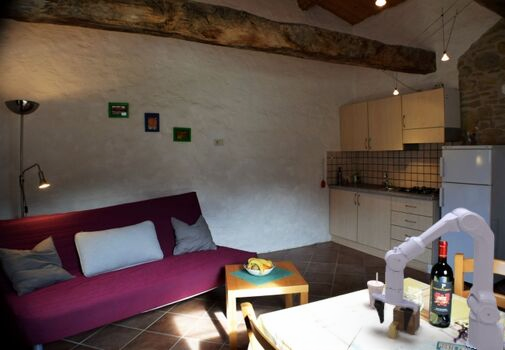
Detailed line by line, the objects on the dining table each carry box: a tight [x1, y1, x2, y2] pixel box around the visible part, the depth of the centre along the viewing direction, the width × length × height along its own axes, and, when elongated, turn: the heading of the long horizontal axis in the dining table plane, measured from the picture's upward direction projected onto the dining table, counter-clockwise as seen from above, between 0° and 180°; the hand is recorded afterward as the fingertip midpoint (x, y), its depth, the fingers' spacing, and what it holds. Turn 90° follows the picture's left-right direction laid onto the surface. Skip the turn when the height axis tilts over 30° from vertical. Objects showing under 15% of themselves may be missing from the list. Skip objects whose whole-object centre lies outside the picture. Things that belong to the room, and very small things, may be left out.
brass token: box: [388, 320, 400, 340], centre depth 114 cm, size 5×2×4 cm, turn 142°
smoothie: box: [366, 272, 385, 310], centre depth 135 cm, size 6×6×14 cm
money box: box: [392, 305, 421, 335], centre depth 119 cm, size 7×8×7 cm
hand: (393, 325), depth 113 cm, fingers open, 7 cm apart
